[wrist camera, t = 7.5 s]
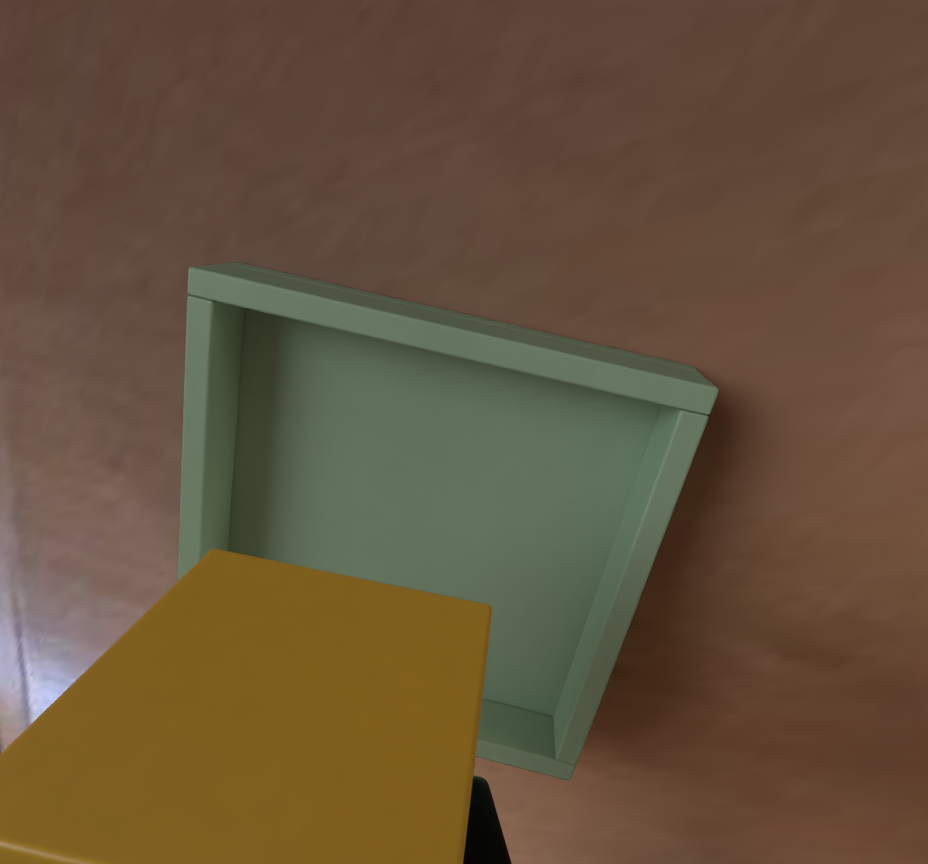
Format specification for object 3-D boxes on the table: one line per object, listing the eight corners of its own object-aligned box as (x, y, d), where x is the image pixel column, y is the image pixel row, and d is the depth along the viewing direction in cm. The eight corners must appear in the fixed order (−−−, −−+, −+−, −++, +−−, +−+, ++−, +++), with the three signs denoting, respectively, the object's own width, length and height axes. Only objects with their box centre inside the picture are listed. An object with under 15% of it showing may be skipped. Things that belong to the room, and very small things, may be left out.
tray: (566, 719, 17) (570, 782, 15) (213, 628, 18) (173, 678, 16) (693, 365, 13) (720, 388, 11) (237, 261, 14) (186, 265, 12)
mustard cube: (451, 808, 9) (391, 1216, 5) (212, 755, 9) (-8, 1107, 6) (494, 603, 8) (452, 957, 4) (211, 545, 8) (-80, 825, 4)
